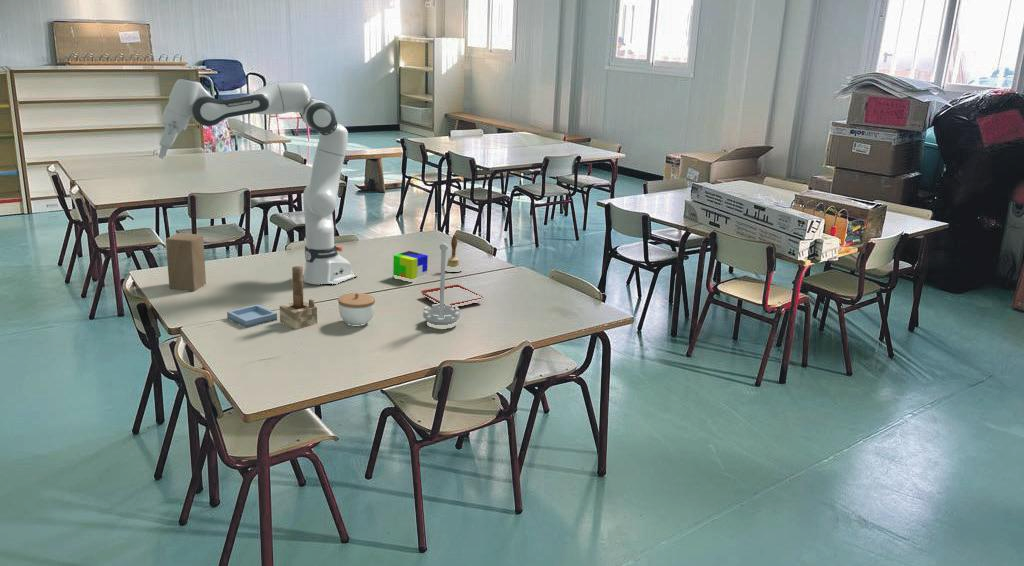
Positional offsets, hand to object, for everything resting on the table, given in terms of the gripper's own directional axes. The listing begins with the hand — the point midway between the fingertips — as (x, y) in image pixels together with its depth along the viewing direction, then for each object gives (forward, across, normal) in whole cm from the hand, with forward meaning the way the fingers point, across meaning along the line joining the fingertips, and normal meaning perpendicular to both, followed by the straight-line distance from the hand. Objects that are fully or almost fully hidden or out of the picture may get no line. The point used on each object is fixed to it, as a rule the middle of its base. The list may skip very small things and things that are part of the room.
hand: (161, 156), depth 284 cm
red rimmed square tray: (+11, -27, -114) cm, 118 cm away
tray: (+39, -34, -46) cm, 69 cm away
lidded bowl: (+26, -44, -78) cm, 94 cm away
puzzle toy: (+12, +4, -105) cm, 105 cm away
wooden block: (+44, +6, -24) cm, 51 cm away
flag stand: (+16, -50, -105) cm, 118 cm away
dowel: (+31, -40, -59) cm, 78 cm away
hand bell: (+3, +12, -124) cm, 124 cm away
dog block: (+33, -40, -60) cm, 80 cm away
